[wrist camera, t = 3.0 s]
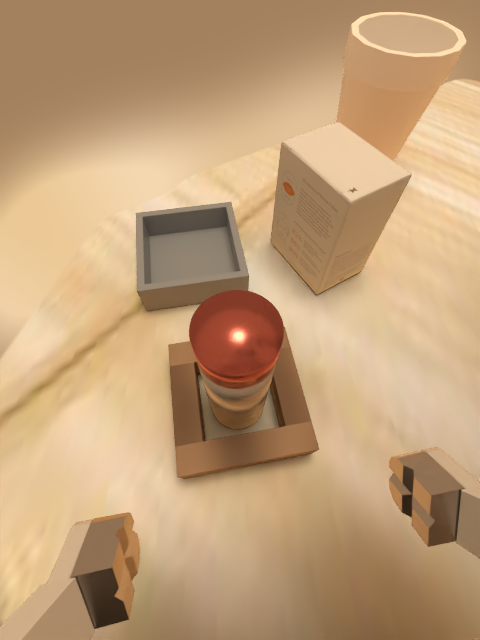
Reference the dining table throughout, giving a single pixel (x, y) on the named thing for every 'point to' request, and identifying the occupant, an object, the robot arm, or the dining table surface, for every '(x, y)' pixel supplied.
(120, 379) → the dining table surface
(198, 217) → the tray
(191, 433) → the wooden square frame
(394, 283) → the dining table surface
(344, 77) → the foam cup
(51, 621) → the robot arm
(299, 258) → the small box
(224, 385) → the red-lidded jar
